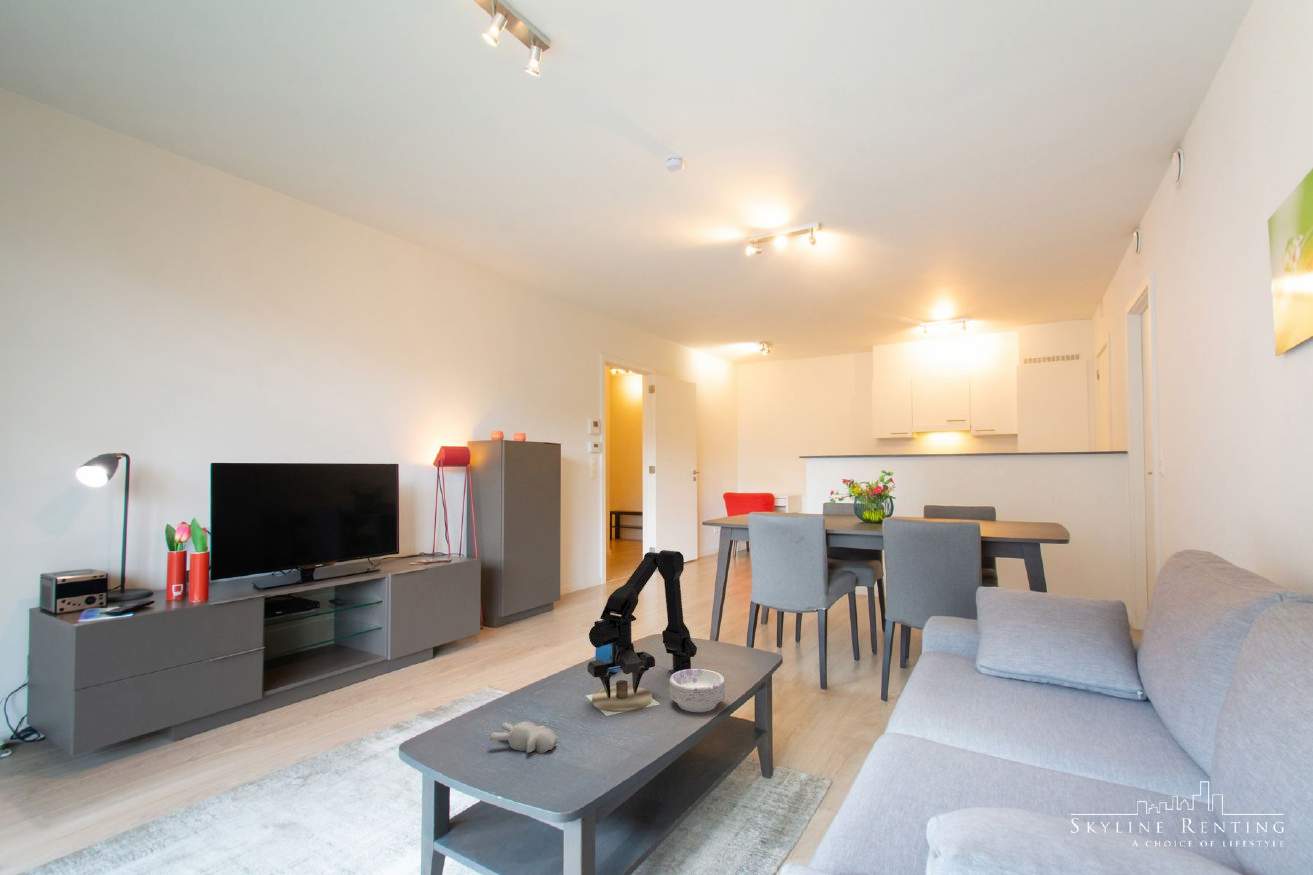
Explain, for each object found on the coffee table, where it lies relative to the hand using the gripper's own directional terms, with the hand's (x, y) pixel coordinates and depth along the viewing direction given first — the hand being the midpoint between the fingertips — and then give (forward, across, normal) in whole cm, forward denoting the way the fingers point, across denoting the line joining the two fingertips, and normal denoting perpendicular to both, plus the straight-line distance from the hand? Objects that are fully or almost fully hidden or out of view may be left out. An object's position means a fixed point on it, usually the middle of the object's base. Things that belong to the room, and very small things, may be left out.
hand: (622, 695), depth 169 cm
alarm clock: (+2, +7, +25) cm, 26 cm away
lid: (+1, 0, 0) cm, 1 cm away
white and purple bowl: (+2, +17, -13) cm, 22 cm away
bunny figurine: (+2, -31, -14) cm, 34 cm away
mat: (+2, 0, 0) cm, 2 cm away
